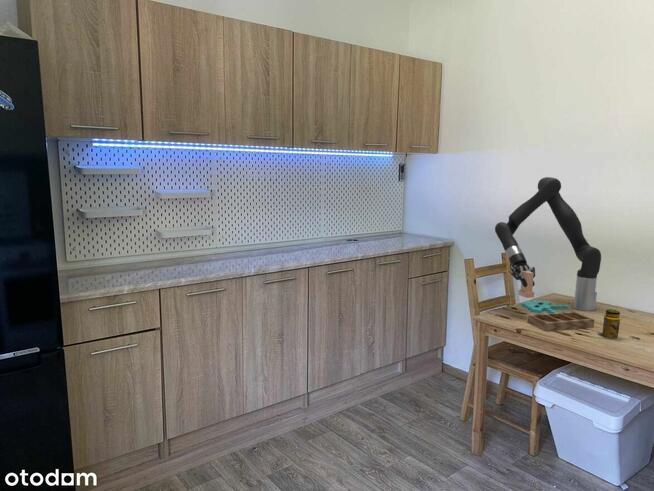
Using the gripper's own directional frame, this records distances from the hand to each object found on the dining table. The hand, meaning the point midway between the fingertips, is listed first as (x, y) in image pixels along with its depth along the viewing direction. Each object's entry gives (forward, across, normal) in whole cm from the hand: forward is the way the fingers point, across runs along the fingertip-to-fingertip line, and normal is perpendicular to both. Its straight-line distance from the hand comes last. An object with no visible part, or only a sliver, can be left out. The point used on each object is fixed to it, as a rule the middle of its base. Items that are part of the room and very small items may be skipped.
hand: (529, 286), depth 231 cm
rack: (+19, +10, +4) cm, 22 cm away
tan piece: (+2, 0, +5) cm, 6 cm away
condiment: (+32, +20, -8) cm, 39 cm away
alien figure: (+3, +20, +22) cm, 30 cm away
